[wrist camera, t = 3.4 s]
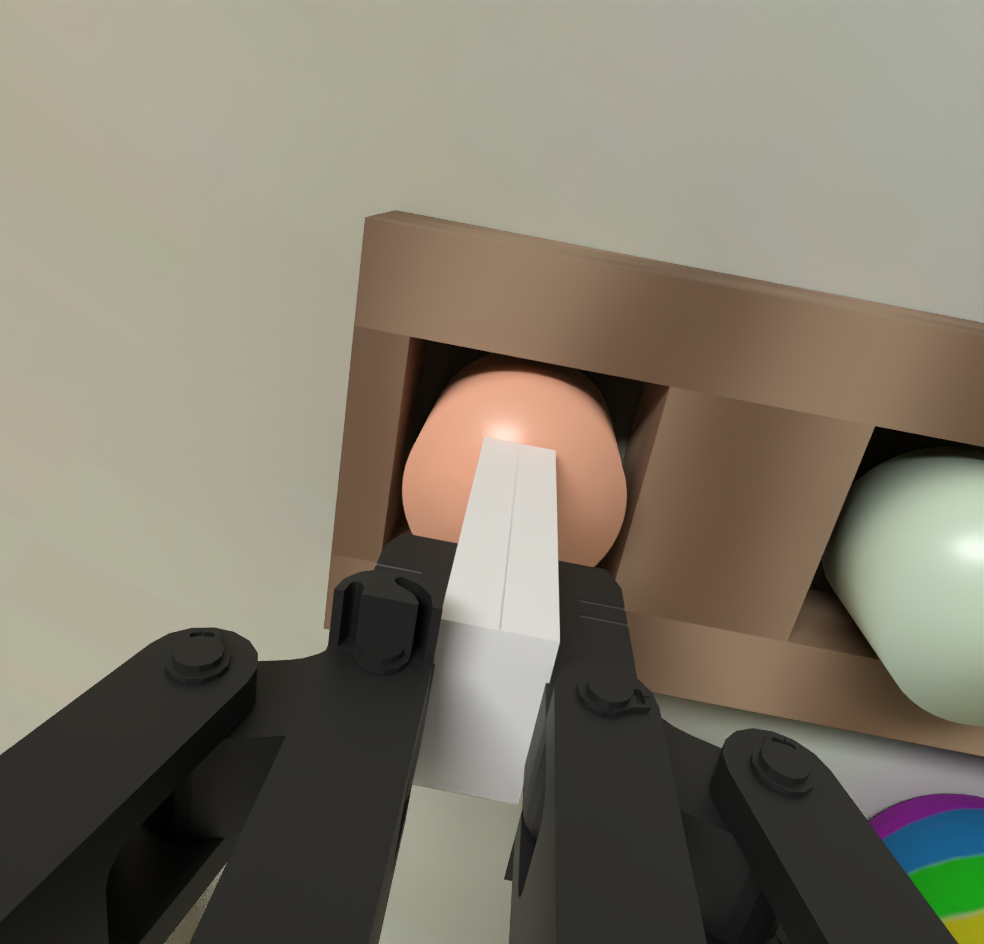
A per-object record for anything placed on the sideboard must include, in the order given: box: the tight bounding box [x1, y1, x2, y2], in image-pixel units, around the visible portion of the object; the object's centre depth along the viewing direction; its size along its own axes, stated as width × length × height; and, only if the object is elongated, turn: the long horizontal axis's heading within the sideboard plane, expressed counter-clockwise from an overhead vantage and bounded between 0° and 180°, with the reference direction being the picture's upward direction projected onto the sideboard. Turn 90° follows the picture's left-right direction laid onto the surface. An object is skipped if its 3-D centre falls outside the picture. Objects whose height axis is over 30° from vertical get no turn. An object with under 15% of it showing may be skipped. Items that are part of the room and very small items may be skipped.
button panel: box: [324, 210, 984, 756], centre depth 18 cm, size 28×10×3 cm, turn 80°
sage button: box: [822, 447, 984, 727], centre depth 16 cm, size 5×5×4 cm
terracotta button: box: [402, 353, 627, 567], centre depth 17 cm, size 5×5×4 cm
